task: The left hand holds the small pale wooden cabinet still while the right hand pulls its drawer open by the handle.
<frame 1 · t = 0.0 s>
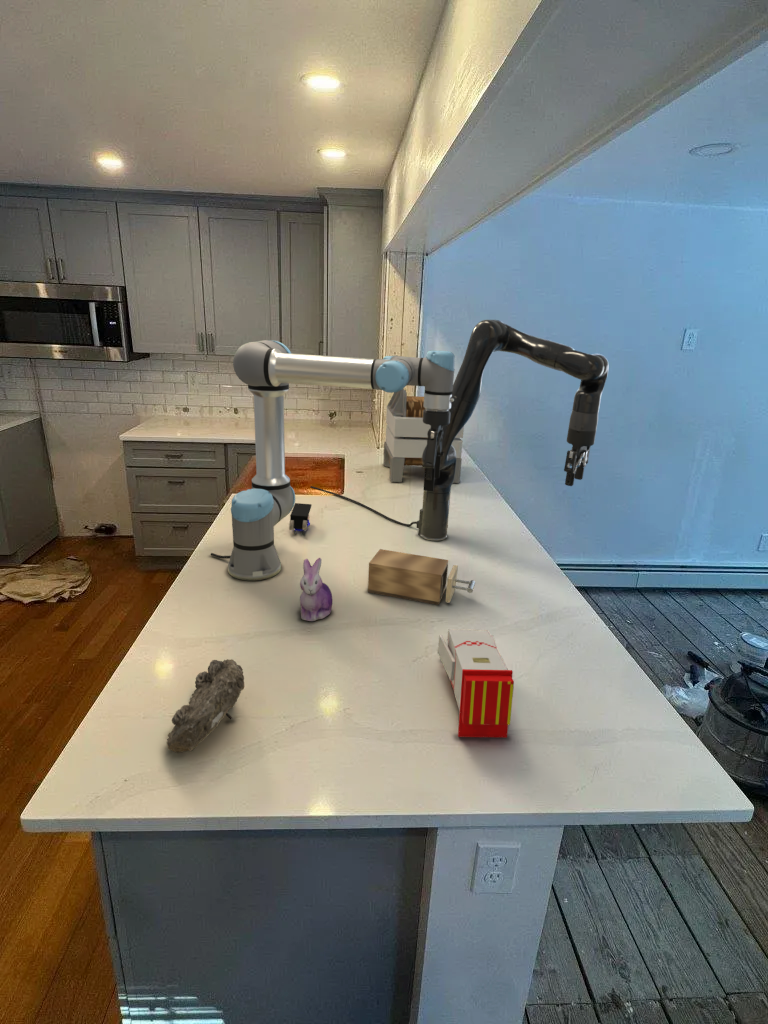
left hand: (431, 483, 162), 28 cm above the counter, tool pointing down, fingers open, 13 cm apart
right hand: (573, 482, 165), 29 cm above the counter, tool pointing down, fingers open, 8 cm apart
fossil: (212, 717, 108), on the counter
drawer: (429, 579, 157), point 4 cm above the counter, slide at 1.6 cm
toy: (469, 691, 119), on the counter
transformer: (419, 473, 275), on the counter
figurine: (315, 613, 146), on the counter
cabinet: (407, 590, 160), on the counter
figurine character: (300, 529, 200), on the counter
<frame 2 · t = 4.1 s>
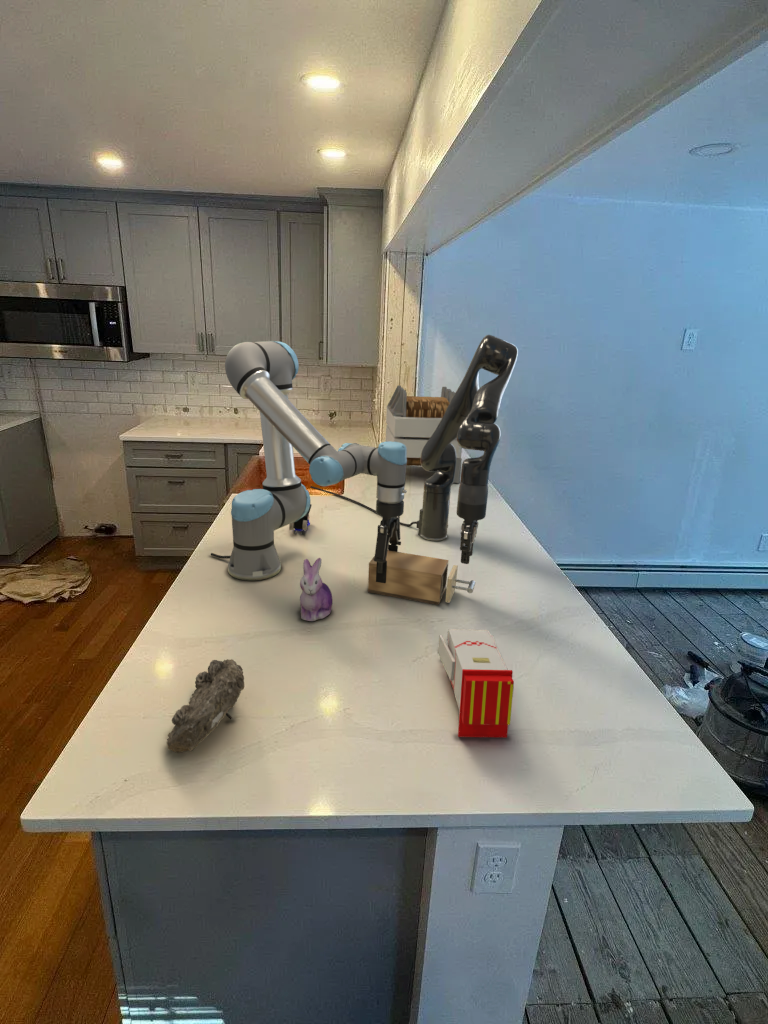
left hand: (386, 573, 160), 4 cm above the counter, tool pointing down, fingers closed on cabinet, 10 cm apart
right hand: (466, 558, 152), 12 cm above the counter, tool pointing down, fingers open, 5 cm apart
cabinet: (407, 590, 160), on the counter, touching left hand
everything else where it was.
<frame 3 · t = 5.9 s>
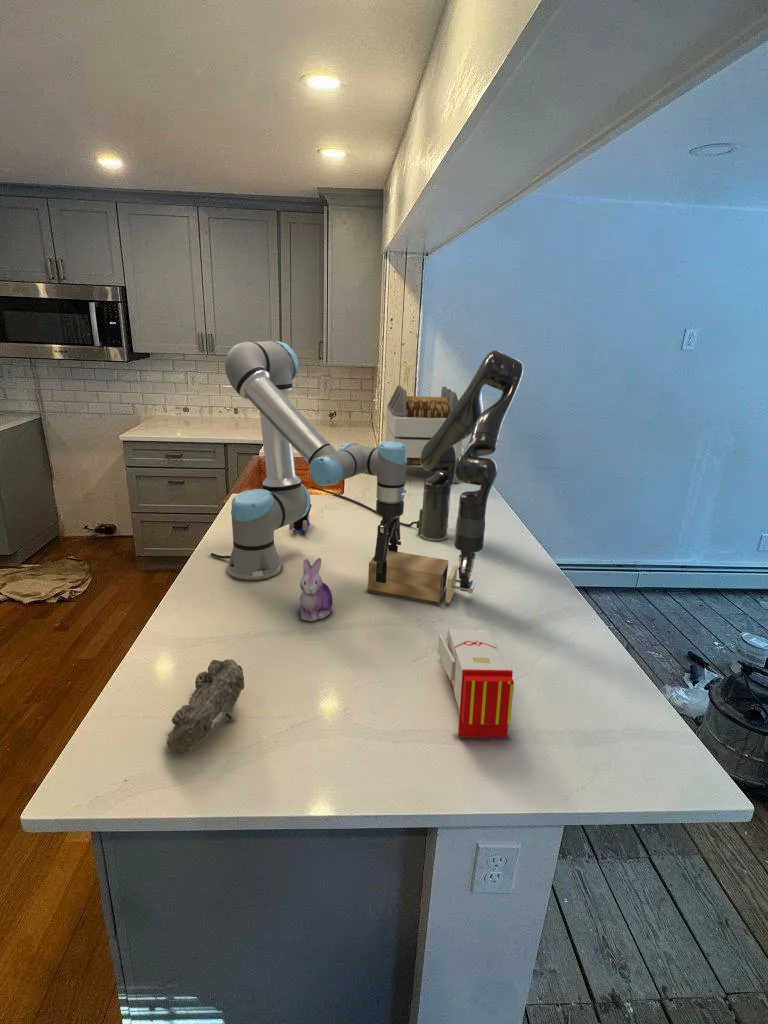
left hand: (386, 573, 160), 4 cm above the counter, tool pointing down, fingers closed on cabinet, 10 cm apart
right hand: (464, 589, 155), 3 cm above the counter, tool pointing down, fingers closed
drawer: (429, 579, 157), point 4 cm above the counter, slide at 1.6 cm, touching right hand
cabinet: (407, 590, 160), on the counter, touching left hand
everything else where it was.
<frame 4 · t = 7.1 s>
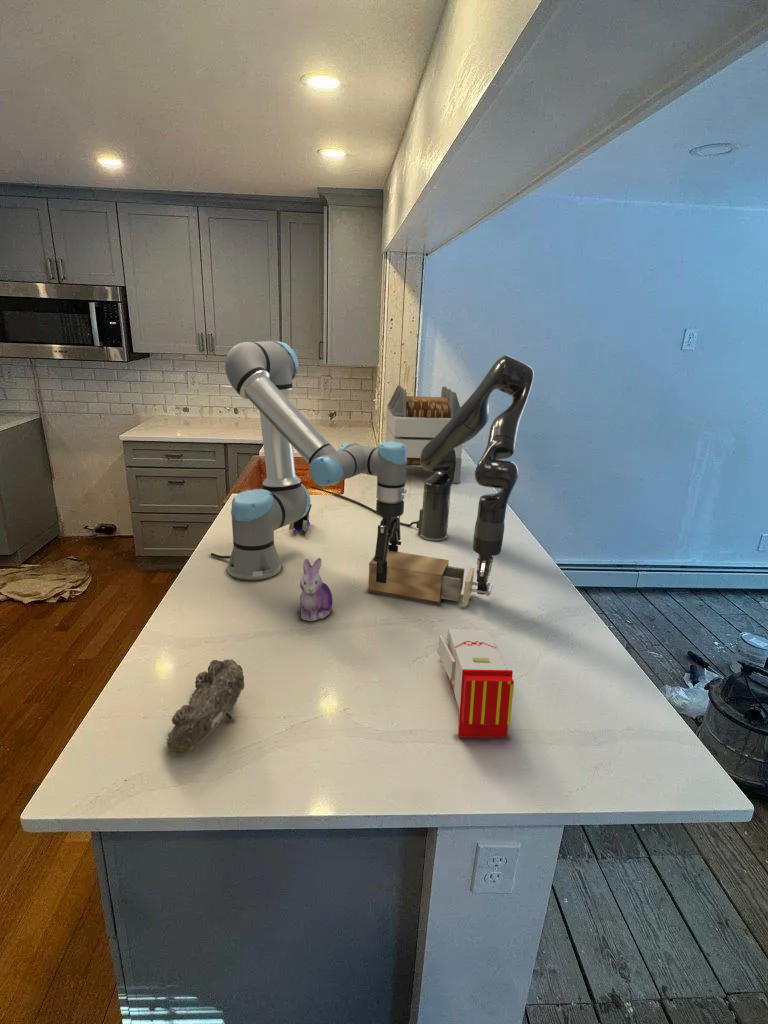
left hand: (386, 573, 160), 4 cm above the counter, tool pointing down, fingers closed on cabinet, 10 cm apart
right hand: (481, 593, 154), 3 cm above the counter, tool pointing down, fingers closed
drawer: (446, 582, 156), point 5 cm above the counter, slide at 6.2 cm, touching right hand
cabinet: (407, 590, 160), on the counter, touching left hand
everything else where it was.
when the left hand's fingers open (4 cm above the counter, at t = 8.8 s): cabinet stays where it is, on the counter.
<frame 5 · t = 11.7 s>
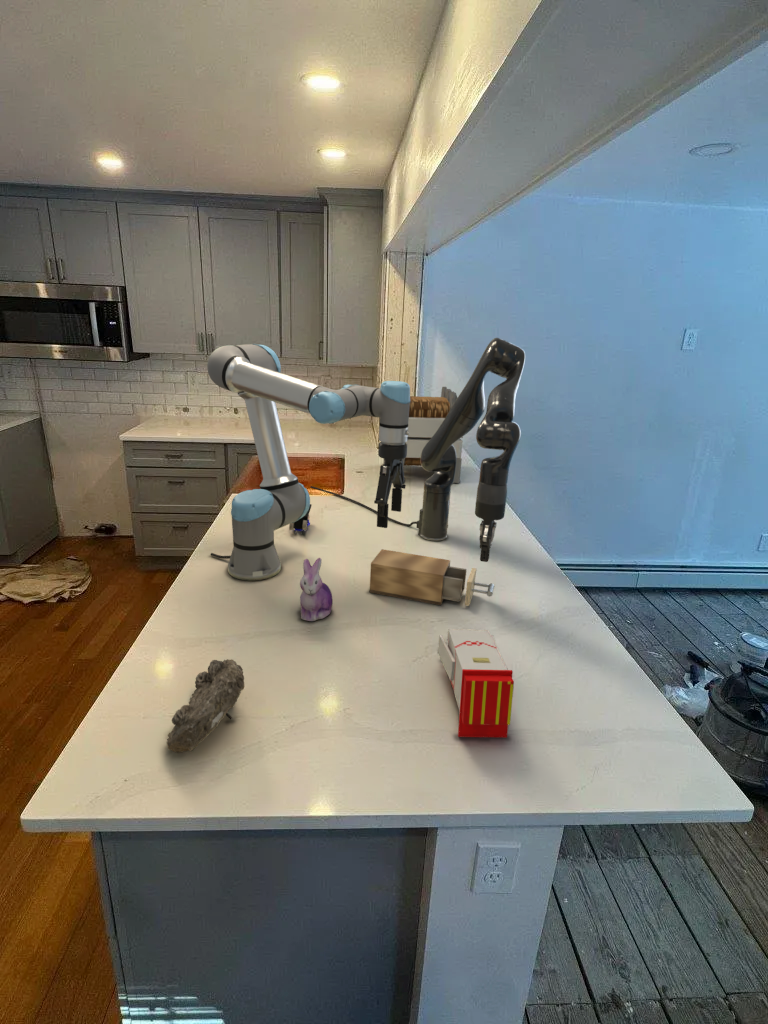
left hand: (389, 518, 155), 21 cm above the counter, tool pointing down, fingers open, 13 cm apart
right hand: (484, 560, 151), 13 cm above the counter, tool pointing down, fingers closed
drawer: (448, 582, 156), point 4 cm above the counter, slide at 6.3 cm
cabinet: (409, 590, 160), on the counter
everything else where it was.
at the end: drawer slide at 6.3 cm; cabinet tilted 0°; cabinet never tilted more than 4° during the clip; cabinet moved 0.5 cm from its start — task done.
